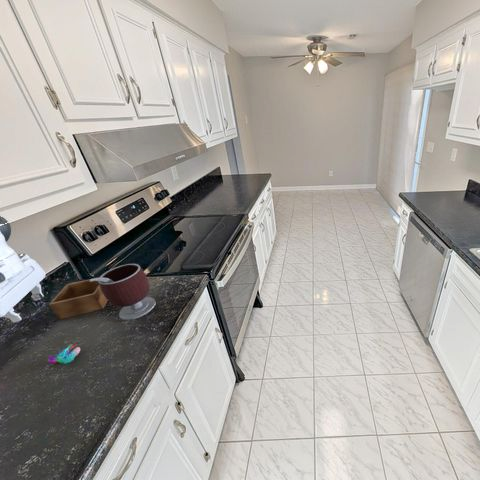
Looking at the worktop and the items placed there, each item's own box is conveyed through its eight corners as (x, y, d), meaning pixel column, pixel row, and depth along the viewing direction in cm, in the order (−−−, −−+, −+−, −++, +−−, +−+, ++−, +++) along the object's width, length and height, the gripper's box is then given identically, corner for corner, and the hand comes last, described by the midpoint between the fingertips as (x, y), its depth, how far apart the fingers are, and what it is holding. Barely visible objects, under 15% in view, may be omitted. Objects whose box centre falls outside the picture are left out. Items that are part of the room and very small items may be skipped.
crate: (59, 319, 98) (48, 304, 94) (75, 298, 109) (66, 284, 106) (103, 308, 102) (94, 294, 98) (114, 289, 113) (107, 275, 110)
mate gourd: (144, 293, 109) (125, 253, 100) (165, 302, 103) (146, 260, 94) (105, 318, 97) (78, 275, 87) (125, 329, 91) (100, 284, 82)
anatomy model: (62, 338, 83) (38, 353, 77) (83, 339, 82) (61, 355, 76) (68, 350, 85) (45, 366, 78) (89, 351, 84) (68, 368, 78)
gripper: (10, 253, 74) (37, 290, 80) (-53, 295, 57) (-12, 338, 63) (36, 248, 75) (62, 285, 82) (-17, 287, 58) (20, 330, 65)
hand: (29, 308), depth 72 cm, fingers open, 8 cm apart
